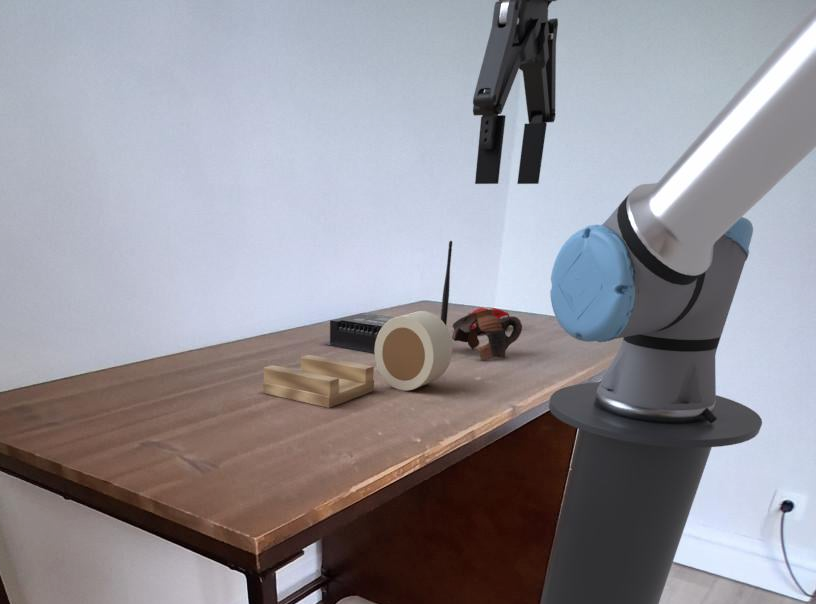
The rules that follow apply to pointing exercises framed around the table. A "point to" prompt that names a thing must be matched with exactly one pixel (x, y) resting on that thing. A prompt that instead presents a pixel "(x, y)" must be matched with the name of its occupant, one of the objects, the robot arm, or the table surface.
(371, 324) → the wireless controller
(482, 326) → the pottery mug
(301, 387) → the tape holder
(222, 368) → the table surface
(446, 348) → the tape roll
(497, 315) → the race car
